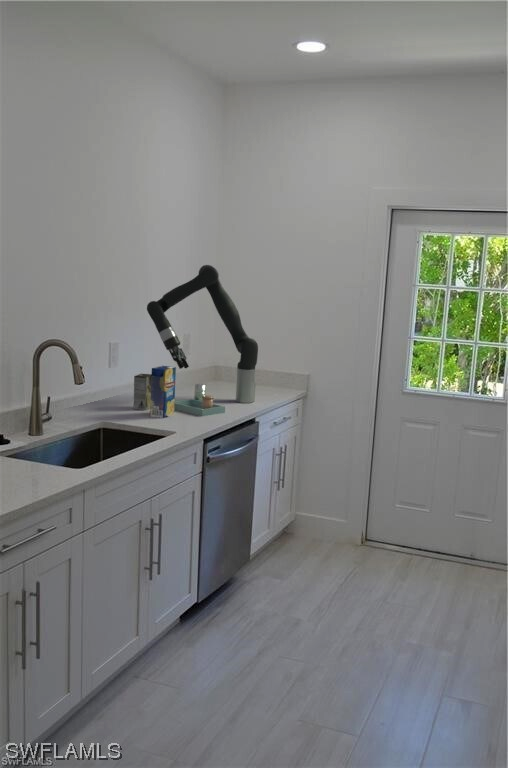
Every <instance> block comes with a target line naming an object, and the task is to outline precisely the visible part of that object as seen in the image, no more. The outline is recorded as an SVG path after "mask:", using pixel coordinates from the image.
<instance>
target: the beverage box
mask: <svg viewBox="0 0 508 768" xmlns="http://www.w3.org/2000/svg"><path fill="white" fill-rule="evenodd" d="M176 372H177V368H176V366H169V365H160V366H156V367H152V368H151V374H152V376H151V405H150V408H149V410H150V411H149V413H150V414H149V416H150V417H151V418H152V417H153V418H159V417H160V419H166V418H168V417H169V415H172V414H173V413H175V410H174V402H175V399H176V397H175V395H176V377H177V376H176V375H177V373H176Z"/></svg>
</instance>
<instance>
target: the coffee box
mask: <svg viewBox="0 0 508 768" xmlns="http://www.w3.org/2000/svg"><path fill="white" fill-rule="evenodd" d="M151 376H152V373H151V374H150V373H149V374H148V373H139V374H136V375H134V377H133V378H134V379H133V407H132V408H133V410H135V409H139V410H138V411H147V410H150V405H151Z"/></svg>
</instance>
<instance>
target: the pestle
mask: <svg viewBox="0 0 508 768" xmlns="http://www.w3.org/2000/svg"><path fill="white" fill-rule="evenodd" d="M213 404H214V396H213V395H207V394H205V395H204V396H202V409H208V408H213Z"/></svg>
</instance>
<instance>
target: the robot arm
mask: <svg viewBox="0 0 508 768" xmlns="http://www.w3.org/2000/svg"><path fill="white" fill-rule="evenodd" d="M219 276H220V275H219V272H218V270H217V268H215V267H214V266H213V265H209V264H204V265H202V266H201V267H200V268H199V271H198V274H197V275H196V276H195V277H194V278H192V279H189V280H188V281H187V282H185V283H182V284H180V285H178V286H176V287H174V288H172V289H171V290H169V291H167V292H166V293H165V294H163V295H162V297H161V298H159V299H158V300H157V301H156V300H152V301H150V302H148V303H147V305H146V311H147V313H148V315H149V317H150V319H151V321H152V322H153V323H154V326H155V328H156V331H157V332H158V334H159V336H160V340H161V341H162V344H163V345H164V347H165V349H166V350H167V351H168V352H169V354H170V356H171V358H172V360H173V361H174V362H175V363H176V364H177V367H178V368H179V369H183V368H184V369H188V368H189V367H190V365H189V363H188V361H187V356H186V355H185V353H184V351H183V349H182V348H181V347H179V346H180V345H181V341H180V339H179V337H178V336H177V335H178V334H176V332H175V330H174V328H173V327H172V324H171V322H170V321H169V319H168V318H167V316H166V314H165V313H166V312H167V311H168V310H170V309H171V308H172V307H174V306H175V305H178V303H180V302H182V301H183V300H184V299H186V298H188V297H190V296H191V295H193V294H194V293H196V292H199V291H200V290H202V289H207V292H208V294H209V295H210V298H211V300H212V302H213V305H214V307H215V310H216V311H217V313H218V316H219V317H220V319H221V320H222V322H223V323H224V325H225V327H226V329H227V330H228V333H230V336H231V338H232V341H233V344H234V346H235V348H236V351H237V352H238V353H239V354H240V359H239V361H238V362H237V364H236V365H237V368H236V385H235V386H236V389H235V402H236V403H241V404H250V403H251V404H252V403H254V402H255V398H256V397H255V396H256V382H255V379H256V378H255V377H256V375H255V374H256V366H257V364H258V363H257V362H258V354H259V345H258V343H257V341H256V340H255V339H254V338H252V337H251V338H250V337H249V336H248V334H247V333H246V331H245V330H244V327H243V325H242V320H241V317H240V313H239V310H238V308H237V307H236V305H235V303H234V302H233V300H232V298H231V296H230V295H229V294H228V293H227V291H226V290H225V289H224V287H223V286H222V283H221V281H220V279H219Z"/></svg>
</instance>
